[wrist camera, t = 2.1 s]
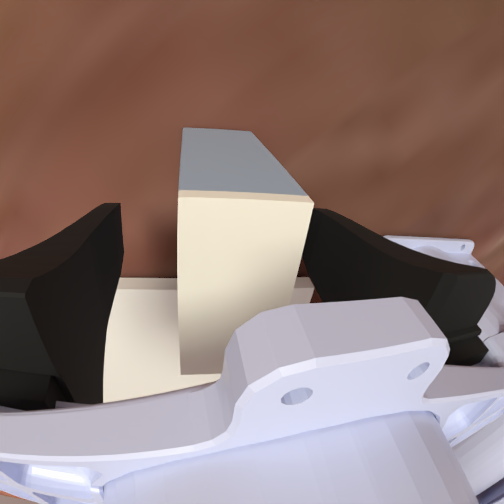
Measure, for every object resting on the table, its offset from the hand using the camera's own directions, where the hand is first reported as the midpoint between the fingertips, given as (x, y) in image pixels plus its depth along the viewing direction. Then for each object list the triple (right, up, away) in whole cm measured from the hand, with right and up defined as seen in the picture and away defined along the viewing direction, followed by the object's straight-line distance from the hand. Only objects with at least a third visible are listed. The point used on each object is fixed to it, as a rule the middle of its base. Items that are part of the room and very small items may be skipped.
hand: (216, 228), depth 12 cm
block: (-1, +2, +3) cm, 4 cm away
